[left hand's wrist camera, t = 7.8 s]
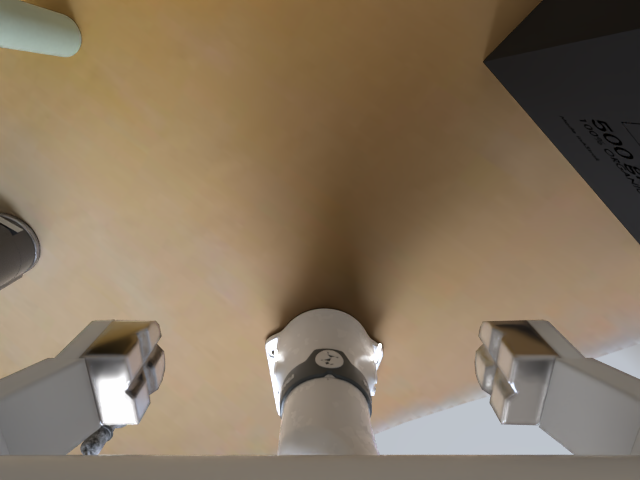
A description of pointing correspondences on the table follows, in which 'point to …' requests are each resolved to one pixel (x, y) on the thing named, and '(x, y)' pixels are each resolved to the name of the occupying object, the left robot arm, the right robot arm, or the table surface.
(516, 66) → the black boxy piece
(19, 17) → the jar
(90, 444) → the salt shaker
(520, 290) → the table surface
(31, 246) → the right robot arm
